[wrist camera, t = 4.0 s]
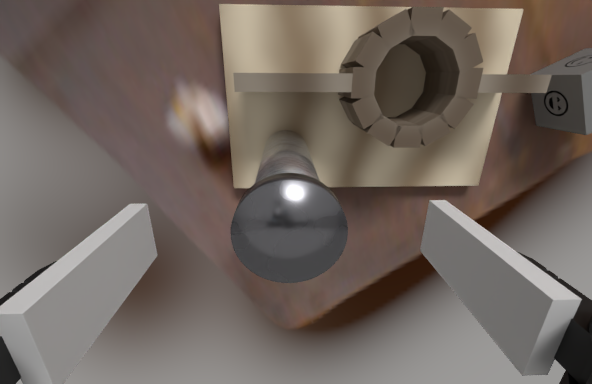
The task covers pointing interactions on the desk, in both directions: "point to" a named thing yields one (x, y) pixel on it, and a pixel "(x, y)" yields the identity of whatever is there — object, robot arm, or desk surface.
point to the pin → (288, 216)
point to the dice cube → (566, 95)
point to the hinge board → (322, 109)
